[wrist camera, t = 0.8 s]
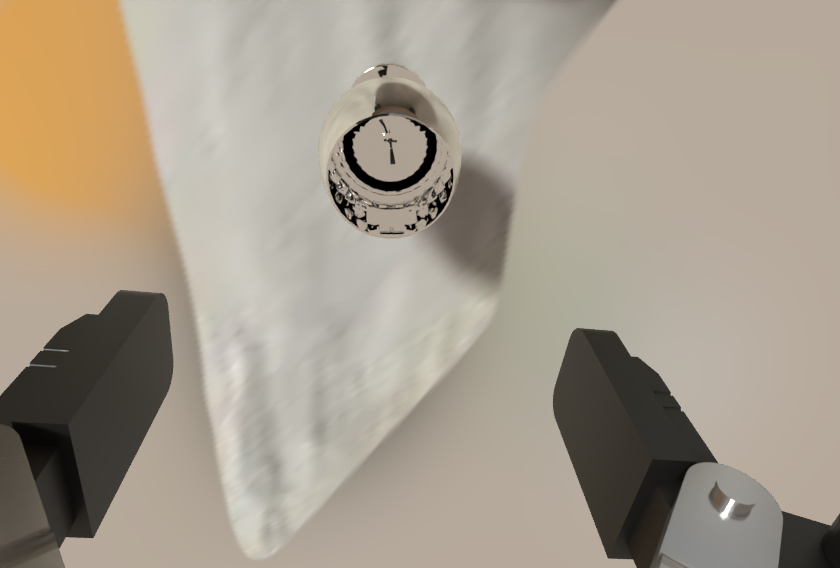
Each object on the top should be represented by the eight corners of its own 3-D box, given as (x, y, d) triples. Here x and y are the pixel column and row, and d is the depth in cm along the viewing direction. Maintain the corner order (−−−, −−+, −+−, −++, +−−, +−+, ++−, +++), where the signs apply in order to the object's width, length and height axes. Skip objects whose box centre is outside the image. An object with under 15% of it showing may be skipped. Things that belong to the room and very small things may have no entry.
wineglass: (315, 122, 31) (280, 201, 20) (371, 26, 29) (364, 59, 18) (404, 178, 33) (413, 277, 22) (462, 91, 31) (504, 156, 20)
